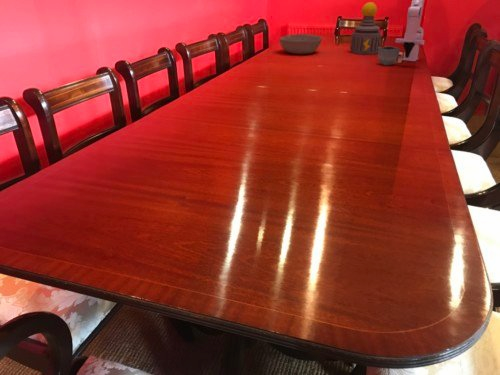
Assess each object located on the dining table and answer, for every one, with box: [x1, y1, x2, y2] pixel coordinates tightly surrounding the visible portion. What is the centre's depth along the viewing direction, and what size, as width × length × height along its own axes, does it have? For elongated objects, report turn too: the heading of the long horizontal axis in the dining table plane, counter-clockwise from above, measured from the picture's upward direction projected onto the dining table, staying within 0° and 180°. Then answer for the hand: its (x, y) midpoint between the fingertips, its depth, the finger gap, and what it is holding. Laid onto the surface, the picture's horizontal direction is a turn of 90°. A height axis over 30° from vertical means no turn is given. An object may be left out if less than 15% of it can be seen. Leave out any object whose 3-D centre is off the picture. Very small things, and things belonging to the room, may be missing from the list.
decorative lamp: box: [349, 1, 382, 56], centre depth 252 cm, size 19×19×30 cm
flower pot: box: [377, 46, 401, 66], centre depth 221 cm, size 9×9×9 cm
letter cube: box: [395, 51, 404, 63], centre depth 229 cm, size 5×5×5 cm
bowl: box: [278, 33, 323, 55], centre depth 258 cm, size 28×28×10 cm
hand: (407, 57), depth 215 cm, fingers closed
